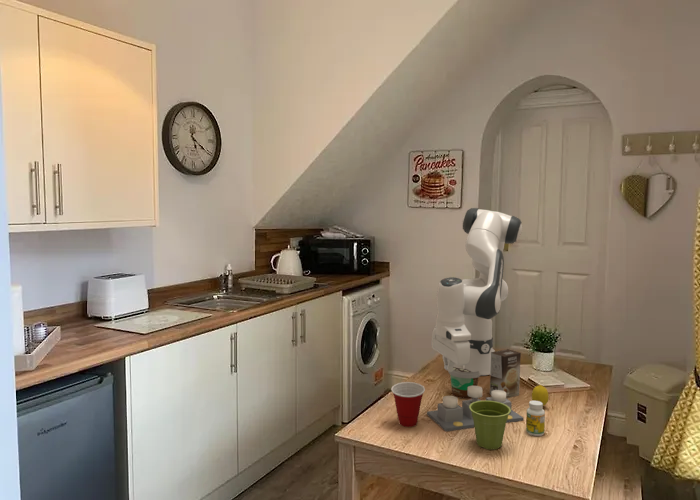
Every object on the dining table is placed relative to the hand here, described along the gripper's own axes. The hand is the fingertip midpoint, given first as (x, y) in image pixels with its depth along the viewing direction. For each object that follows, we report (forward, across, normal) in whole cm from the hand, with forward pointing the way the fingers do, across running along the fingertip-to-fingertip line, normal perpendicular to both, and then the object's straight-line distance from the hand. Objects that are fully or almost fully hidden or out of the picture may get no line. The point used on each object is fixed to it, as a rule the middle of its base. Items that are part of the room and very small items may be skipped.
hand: (448, 370), depth 179 cm
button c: (+16, +1, 0) cm, 16 cm away
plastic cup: (+17, -1, -14) cm, 22 cm away
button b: (+13, +1, +9) cm, 16 cm away
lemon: (+17, 0, +35) cm, 39 cm away
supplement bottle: (+17, +17, +22) cm, 32 cm away
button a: (+16, +1, +18) cm, 24 cm away
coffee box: (+17, -14, +30) cm, 38 cm away
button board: (+17, +1, +9) cm, 19 cm away
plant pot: (+17, +20, +4) cm, 26 cm away
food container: (+17, -18, +14) cm, 29 cm away
